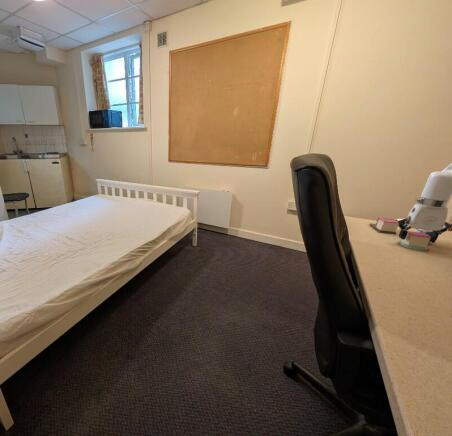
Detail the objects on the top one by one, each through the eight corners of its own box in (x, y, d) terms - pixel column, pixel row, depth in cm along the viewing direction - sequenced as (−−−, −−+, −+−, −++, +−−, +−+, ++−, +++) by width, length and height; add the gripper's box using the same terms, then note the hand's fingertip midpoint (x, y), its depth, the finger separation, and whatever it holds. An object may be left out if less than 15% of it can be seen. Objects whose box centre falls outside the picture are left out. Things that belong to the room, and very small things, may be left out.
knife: (409, 229, 112) (413, 220, 110) (411, 230, 110) (415, 221, 109) (374, 225, 117) (377, 217, 115) (376, 227, 115) (379, 218, 113)
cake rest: (390, 228, 113) (394, 219, 112) (395, 232, 109) (399, 222, 108) (375, 227, 115) (379, 218, 114) (380, 230, 111) (383, 221, 110)
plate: (418, 243, 99) (419, 241, 99) (431, 252, 92) (432, 249, 92) (395, 241, 102) (396, 238, 102) (406, 249, 95) (407, 246, 95)
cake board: (384, 226, 119) (384, 224, 118) (395, 234, 109) (396, 232, 109) (369, 224, 121) (370, 223, 121) (379, 232, 112) (380, 230, 111)
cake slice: (419, 242, 98) (423, 232, 96) (426, 247, 94) (431, 236, 92) (401, 240, 100) (405, 230, 98) (408, 245, 96) (412, 234, 94)
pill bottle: (430, 242, 101) (438, 224, 98) (427, 245, 98) (436, 226, 95) (413, 238, 105) (420, 220, 102) (410, 240, 102) (418, 223, 99)
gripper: (410, 203, 90) (395, 240, 96) (469, 207, 84) (449, 246, 90) (399, 198, 96) (386, 233, 102) (453, 201, 91) (435, 239, 97)
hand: (415, 239), depth 96 cm, fingers open, 9 cm apart
